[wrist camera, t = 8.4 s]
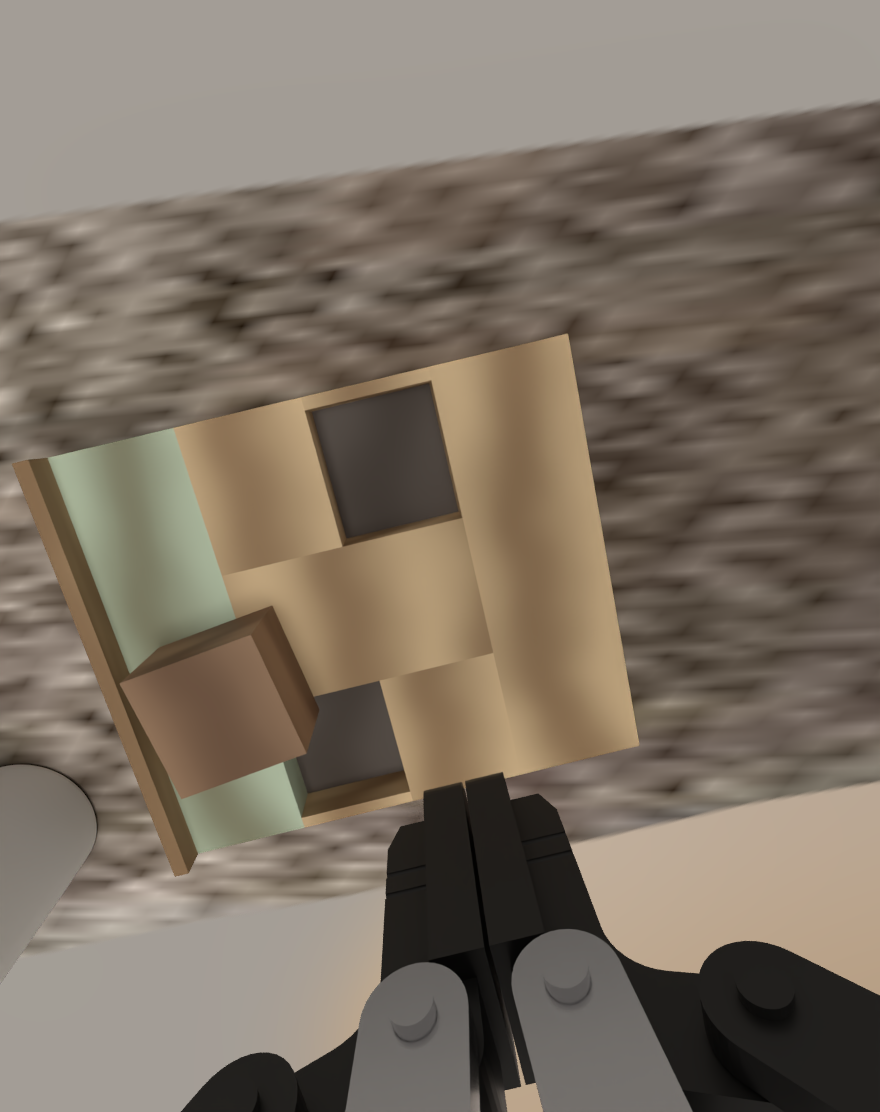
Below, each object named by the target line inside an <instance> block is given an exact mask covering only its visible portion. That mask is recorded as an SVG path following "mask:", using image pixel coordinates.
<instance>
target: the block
mask: <svg viewBox="0 0 880 1112" xmlns="http://www.w3.org/2000/svg"><path fill="white" fill-rule="evenodd" d="M119 684H120V686H121V687H122V689H123V691H124V693H125V695H126V697H127V699H128V700H129V702H130V704H131V706H132V708H133V710H134V712H135V714H136V715H137V717H138V719H139V721H140V723H141V725H142V727H143V728H144V730H145V732H146V734H147V736H148V738H149V740H150V741H151V743H152V745H153V747H154V749H155V751H156V753H157V755H158V756H159V758H160V760H161V762H162V764H163V766H164V768H165V769H166V771H167V773H168V775H169V777H170V779H171V781H172V783H173V784H174V786H175V788H176V790H177V792H178V794H179V796H180V797H181V799H184V798H187V797H189V796H192V795H195V794H198V793H200V792H203V791H206V790H209V789H211V788H214V787H217V786H219V785H222V784H225V783H228V782H230V781H233V780H236V779H239V778H241V777H244V776H247V775H249V774H252V773H255V772H258V771H260V770H263V769H266V768H269V767H271V766H274V765H277V764H279V763H282V762H285V761H288V760H290V759H293V758H296V757H299V756H301V755H304V754H307V750H308V747H309V744H310V740H311V737H312V734H313V730H314V727H315V723H316V720H317V717H318V713H319V710H320V709H319V707H318V705H317V703H316V701H315V698H314V696H313V694H312V692H311V690H310V687H309V685H308V683H307V681H306V679H305V676H304V674H303V672H302V670H301V668H300V665H299V663H298V661H297V659H296V657H295V654H294V652H293V650H292V648H291V646H290V643H289V641H288V639H287V637H286V635H285V632H284V630H283V628H282V626H281V624H280V621H279V619H278V617H277V615H276V613H275V610H274V608H273V606H269V607H266V608H264V609H261V610H258V611H256V612H253V613H250V614H248V615H245V616H242V617H239V618H237V619H234V620H231V621H229V622H226V623H223V624H221V625H218V626H215V627H213V628H210V629H207V630H205V631H202V632H199V633H196V634H194V635H191V636H188V637H186V638H183V639H180V640H178V641H175V642H172V643H170V644H167V645H164V646H162V647H159V648H158V649H157V650H156V651H155V652H153V653H152V654H151V655H150V656H149V657H148V658H147V659H146V660H145V661H144V662H142V663H141V664H140V665H139V666H138V667H137V668H136V669H135V670H134V671H133V672H131V673H130V674H129V675H128V676H127V677H126V678H125V679H124V680H123V681H122V682H120V683H119Z"/></svg>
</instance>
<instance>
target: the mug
mask: <svg viewBox="0 0 880 1112" xmlns="http://www.w3.org/2000/svg"><path fill="white" fill-rule="evenodd" d="M96 833H97V823H96V817H95V813H94V810H93V808H92V805H91V803H90V802H89V800H88V798H87V797H86V795H85V794H84V793H83V792H82V790H81V789H80V788H79V787H78V786H77V785H76V784H74V783H73V782H72V781H71V780H69V779H68V778H66V777H65V776H63V775H61V774H59V773H57V772H55V771H52V770H50V769H47V768H43V767H39V766H34V765H9V766H4V767H0V984H1V983H2V981H3V980H4V978H5V977H6V975H7V974H8V972H9V971H10V969H11V968H12V967H13V965H14V964H15V962H16V961H17V959H18V958H19V956H20V955H21V954H22V952H23V951H24V949H25V948H26V946H27V945H28V943H29V942H30V941H31V939H32V938H33V936H34V935H35V933H36V932H37V931H38V929H39V928H40V926H41V925H42V923H43V922H44V921H45V919H46V918H47V916H48V915H49V913H50V912H51V911H52V909H53V908H54V906H55V905H56V903H57V902H58V901H59V899H60V898H61V896H62V895H63V893H64V892H65V890H66V889H67V887H68V886H69V884H70V883H71V881H72V880H73V878H74V877H75V875H76V874H77V872H78V871H79V869H80V868H81V866H82V865H83V863H84V862H85V860H86V859H87V857H88V855H89V854H90V852H91V850H92V848H93V845H94V842H95V839H96Z"/></svg>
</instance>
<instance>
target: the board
mask: <svg viewBox="0 0 880 1112" xmlns="http://www.w3.org/2000/svg"><path fill="white" fill-rule="evenodd" d="M12 465H13V468H14V470H15V473H16V475H17V478H18V481H19V483H20V486H21V488H22V491H23V493H24V496H25V498H26V501H27V503H28V506H29V508H30V511H31V513H32V516H33V519H34V521H35V524H36V526H37V529H38V531H39V534H40V536H41V539H42V541H43V544H44V546H45V549H46V551H47V554H48V557H49V559H50V562H51V564H52V567H53V569H54V572H55V574H56V577H57V579H58V582H59V584H60V587H61V589H62V592H63V594H64V597H65V600H66V602H67V605H68V607H69V610H70V612H71V615H72V617H73V620H74V622H75V625H76V627H77V630H78V632H79V635H80V638H81V640H82V643H83V645H84V648H85V650H86V653H87V655H88V658H89V660H90V663H91V665H92V668H93V670H94V673H95V676H96V678H97V681H98V683H99V686H100V688H101V691H102V693H103V696H104V698H105V701H106V703H107V706H108V708H109V711H110V713H111V716H112V719H113V721H114V724H115V726H116V729H117V731H118V734H119V736H120V739H121V741H122V744H123V746H124V749H125V751H126V754H127V757H128V759H129V762H130V764H131V767H132V769H133V772H134V774H135V777H136V779H137V782H138V784H139V787H140V789H141V792H142V795H143V797H144V800H145V802H146V805H147V807H148V810H149V812H150V815H151V817H152V820H153V822H154V825H155V827H156V830H157V832H158V835H159V838H160V840H161V843H162V845H163V848H164V850H165V853H166V855H167V858H168V860H169V863H170V865H171V868H172V870H173V873H174V876H175V877H176V876H180V875H184V874H188V873H189V871H190V869H191V867H192V865H193V863H194V861H195V859H196V857H197V855H198V853H203V852H207V851H211V850H215V849H219V848H223V847H227V846H231V845H235V844H239V843H243V842H248V841H252V840H256V839H260V838H264V837H268V836H272V835H276V834H280V833H284V832H288V831H292V830H297V829H301V828H305V827H309V826H313V825H317V824H321V823H325V822H329V821H333V820H337V819H341V818H346V817H350V816H354V815H358V814H362V813H366V812H370V811H374V810H378V809H382V808H386V807H390V806H395V805H399V804H403V803H407V802H411V801H415V800H419V799H423V792H424V791H425V790H429V789H433V788H438V787H442V786H446V785H450V784H454V783H459V782H462V783H463V786H464V788H466V786H465V781H466V780H470V779H475V778H479V777H483V776H487V775H491V774H496V773H500V772H503V774H504V778H509V777H513V776H517V775H521V774H525V773H529V772H533V771H537V770H542V769H546V768H550V767H554V766H558V765H562V764H566V763H570V762H574V761H578V760H582V759H586V758H591V757H595V756H599V755H603V754H607V753H611V752H615V751H619V750H623V749H627V748H631V747H635V746H639V740H638V734H637V729H636V723H635V717H634V711H633V706H632V700H631V694H630V688H629V683H628V677H627V671H626V665H625V660H624V654H623V648H622V642H621V637H620V631H619V625H618V619H617V614H616V608H615V602H614V596H613V590H612V585H611V579H610V573H609V567H608V562H607V556H606V550H605V544H604V539H603V533H602V527H601V521H600V516H599V510H598V504H597V498H596V493H595V487H594V481H593V475H592V470H591V464H590V458H589V452H588V447H587V441H586V435H585V429H584V424H583V418H582V412H581V406H580V401H579V395H578V389H577V383H576V378H575V372H574V366H573V360H572V355H571V349H570V343H569V337H568V334H564V335H560V336H556V337H551V338H547V339H543V340H539V341H535V342H531V343H526V344H522V345H518V346H514V347H510V348H505V349H501V350H497V351H493V352H489V353H485V354H480V355H476V356H472V357H468V358H464V359H459V360H455V361H451V362H447V363H443V364H439V365H434V366H430V367H426V368H422V369H418V370H413V371H409V372H405V373H401V374H397V375H393V376H388V377H384V378H380V379H376V380H372V381H367V382H363V383H359V384H355V385H351V386H347V387H342V388H338V389H334V390H330V391H326V392H321V393H317V394H313V395H309V396H305V397H301V398H296V399H292V400H288V401H284V402H280V403H275V404H271V405H267V406H263V407H259V408H254V409H250V410H246V411H242V412H238V413H234V414H229V415H225V416H221V417H217V418H213V419H208V420H204V421H200V422H196V423H192V424H188V425H183V426H179V427H175V428H171V429H167V430H162V431H158V432H154V433H150V434H146V435H142V436H137V437H133V438H129V439H125V440H121V441H116V442H112V443H108V444H104V445H100V446H96V447H91V448H87V449H83V450H79V451H75V452H70V453H66V454H62V455H58V456H54V457H50V458H42V459H31V460H25V461H21V462H17V463H13V464H12ZM269 606H273V608H274V610H275V613H276V615H277V617H278V619H279V621H280V624H281V626H282V628H283V630H284V632H285V635H286V637H287V639H288V641H289V643H290V646H291V648H292V650H293V652H294V654H295V657H296V659H297V661H298V663H299V665H300V668H301V670H302V672H303V674H304V676H305V679H306V681H307V683H308V685H309V687H310V690H311V692H312V694H313V696H314V698H315V701H316V703H317V705H318V707H319V709H320V710H319V713H318V717H317V720H316V723H315V727H314V730H313V734H312V737H311V740H310V744H309V747H308V750H307V754H304V755H301V756H299V757H296V758H293V759H290V760H288V761H285V762H282V763H279V764H277V765H274V766H271V767H269V768H266V769H263V770H260V771H258V772H255V773H252V774H249V775H247V776H244V777H241V778H239V779H236V780H233V781H230V782H228V783H225V784H222V785H219V786H217V787H214V788H211V789H209V790H206V791H203V792H200V793H198V794H195V795H192V796H189V797H187V798H184V799H181V797H180V796H179V794H178V792H177V790H176V788H175V786H174V784H173V783H172V781H171V779H170V777H169V775H168V773H167V771H166V769H165V768H164V766H163V764H162V762H161V760H160V758H159V756H158V755H157V753H156V751H155V749H154V747H153V745H152V743H151V741H150V740H149V738H148V736H147V734H146V732H145V730H144V728H143V727H142V725H141V723H140V721H139V719H138V717H137V715H136V714H135V712H134V710H133V708H132V706H131V704H130V702H129V700H128V699H127V697H126V695H125V693H124V691H123V689H122V687H121V686H120V684H119V683H120V682H122V681H123V680H124V679H125V678H126V677H127V676H128V675H129V674H130V673H131V672H133V671H134V670H135V669H136V668H137V667H138V666H139V665H140V664H141V663H142V662H144V661H145V660H146V659H147V658H148V657H149V656H150V655H151V654H152V653H153V652H155V651H156V650H157V649H158V648H159V647H162V646H164V645H167V644H170V643H172V642H175V641H178V640H180V639H183V638H186V637H188V636H191V635H194V634H196V633H199V632H202V631H205V630H207V629H210V628H213V627H215V626H218V625H221V624H223V623H226V622H229V621H231V620H234V619H237V618H239V617H242V616H245V615H248V614H250V613H253V612H256V611H258V610H261V609H264V608H266V607H269Z"/></svg>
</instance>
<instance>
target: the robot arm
mask: <svg viewBox="0 0 880 1112" xmlns="http://www.w3.org/2000/svg"><path fill="white" fill-rule="evenodd" d="M465 786H466V792H467V797H466V793H465V789H464V786H463V783H462V782H459V783H454V784H450V785H446V786H442V787H438V788H433V789H429V790H425V791H424V792H423V800H424V821H422V822H418V823H413V824H409V825H405V826H401V827H400V829H399V830H398V832H397V834H396V836H395V838H394V840H393V841H392V843H391V845H390V847H389V849H388V860H387V878H386V899H385V914H384V933H383V951H382V969H381V982H380V984H379V985H378V986H377V987H376V988H375V990H374V991H373V992H372V994H371V995H370V997H369V999H368V1000H367V1002H366V1004H365V1006H364V1009H363V1011H362V1014H361V1019H360V1023H359V1028H358V1029H357V1031H356V1032H355V1033H354V1034H353V1035H352V1036H351V1037H350V1038H348V1039H347V1040H346V1041H345V1042H344V1043H342V1044H341V1045H340V1046H338V1047H337V1048H336V1049H334V1050H332V1051H331V1052H329V1053H327V1054H326V1055H324V1056H322V1057H320V1058H319V1059H317V1060H315V1061H314V1062H312V1063H310V1064H309V1065H307V1066H305V1067H304V1068H302V1069H300V1070H298V1071H297V1072H295V1073H294V1071H293V1069H292V1068H291V1066H290V1064H289V1063H288V1062H287V1061H286V1060H285V1059H284V1058H282V1057H280V1056H278V1055H276V1054H272V1053H255V1054H250V1055H247V1056H244V1057H241V1058H239V1059H238V1060H235V1061H234V1062H232V1063H230V1064H228V1065H227V1066H226V1067H224V1068H223V1069H221V1070H220V1071H219V1072H218V1073H216V1074H215V1075H214V1076H213V1077H212V1078H211V1079H210V1080H209V1081H208V1082H207V1083H206V1084H205V1085H204V1086H203V1087H202V1088H201V1089H200V1090H199V1091H198V1093H197V1094H196V1095H195V1096H194V1097H193V1098H192V1100H191V1101H190V1102H189V1103H188V1104H187V1105H186V1106H185V1108H184V1109H183V1110H182V1111H181V1112H507V1107H506V1100H505V1092H504V1090H509V1089H513V1088H517V1087H521V1084H520V1077H519V1071H518V1065H517V1059H516V1052H515V1046H514V1041H515V1045H516V1049H517V1053H518V1057H519V1060H520V1064H521V1068H522V1072H523V1075H524V1079H525V1083H526V1085H528V1084H532V1083H536V1085H537V1089H538V1093H539V1097H540V1100H541V1104H542V1108H543V1112H880V995H877V994H875V993H873V992H871V991H869V990H867V989H865V988H863V987H861V986H859V985H857V984H855V983H853V982H851V981H849V980H847V979H845V978H843V977H841V976H839V975H837V974H834V973H833V972H831V971H829V970H826V969H825V968H823V967H821V966H819V965H817V964H814V963H812V962H811V961H809V960H807V959H805V958H802V957H801V956H798V955H796V954H794V953H792V952H790V951H788V950H785V949H783V948H781V947H779V946H775V945H772V944H768V943H763V942H757V941H741V942H734V943H730V944H727V945H724V946H722V947H720V948H718V949H716V950H715V951H714V952H713V953H711V954H710V955H709V956H708V958H707V959H706V960H705V961H704V963H703V965H702V967H701V969H700V973H699V974H697V973H685V972H673V971H664V970H657V969H653V968H650V967H646V966H644V965H641V964H639V963H636V962H634V961H633V960H631V959H629V958H627V957H626V956H624V955H623V954H622V953H621V952H619V951H618V950H617V949H616V948H615V947H614V946H613V945H612V944H611V943H610V941H609V940H608V939H607V937H606V936H605V934H604V932H603V930H602V928H601V926H600V923H599V920H598V918H597V915H596V912H595V910H594V907H593V904H592V902H591V899H590V897H589V894H588V891H587V888H586V886H585V884H584V881H583V878H582V875H581V873H580V870H579V867H578V865H577V862H576V859H575V857H574V854H573V852H572V849H571V846H570V843H569V841H568V838H567V835H566V834H565V830H564V828H563V825H562V822H561V820H560V817H559V814H558V812H557V809H556V808H555V807H553V806H552V805H551V804H550V803H549V802H548V801H546V800H545V799H544V798H543V797H542V796H541V795H539V794H534V795H530V796H526V797H522V798H518V799H513V800H510V797H509V793H508V789H507V786H506V782H505V778H504V774H503V772H500V773H496V774H491V775H487V776H483V777H479V778H475V779H470V780H466V781H465ZM467 799H468V801H467ZM513 1037H514V1041H513Z"/></svg>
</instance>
